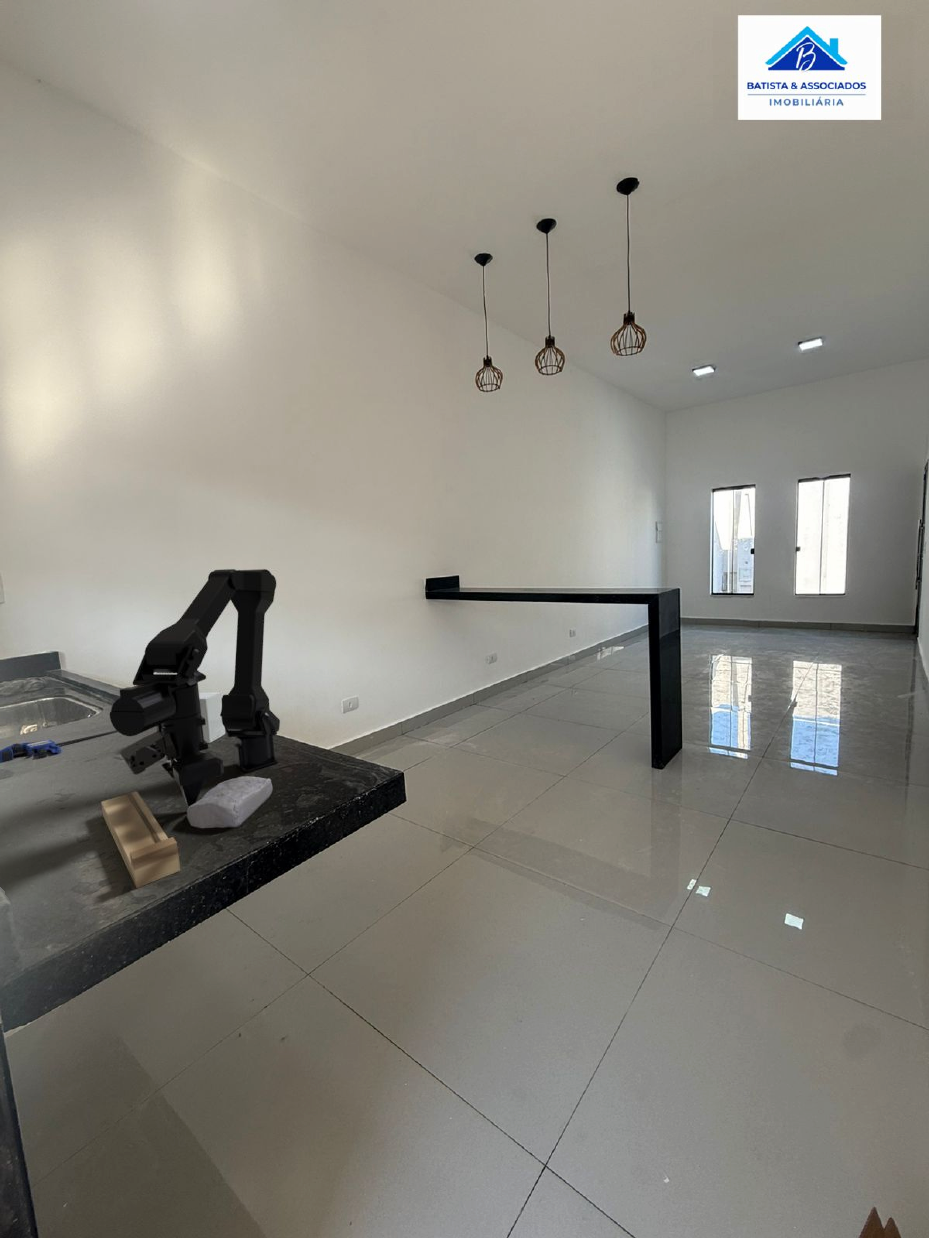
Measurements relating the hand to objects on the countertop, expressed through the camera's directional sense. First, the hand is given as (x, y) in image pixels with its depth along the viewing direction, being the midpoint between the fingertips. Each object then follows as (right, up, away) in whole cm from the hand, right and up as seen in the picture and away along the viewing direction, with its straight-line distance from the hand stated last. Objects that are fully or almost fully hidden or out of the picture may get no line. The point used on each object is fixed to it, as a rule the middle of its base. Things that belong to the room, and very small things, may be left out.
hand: (191, 804), depth 83 cm
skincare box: (-17, +3, +35) cm, 39 cm away
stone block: (+6, -1, 0) cm, 6 cm away
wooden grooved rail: (-4, -2, -8) cm, 9 cm away
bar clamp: (-44, +1, +37) cm, 57 cm away
